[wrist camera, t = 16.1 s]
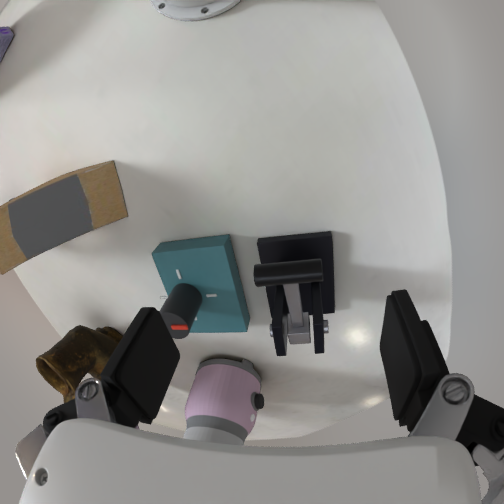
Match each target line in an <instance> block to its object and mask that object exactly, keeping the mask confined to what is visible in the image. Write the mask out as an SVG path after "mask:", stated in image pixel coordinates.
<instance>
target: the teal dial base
mask: <svg viewBox="0 0 504 504" xmlns="http://www.w3.org/2000/svg"><path fill="white" fill-rule="evenodd" d="M152 256H153V259H154V262H155V264H156V267H157V270H158V272H159V275H160V277H161V280H162V282H163V285H164V287H165V290H166V292H167V295H168V296H169V294H170V293H171V291H172V289H173V288H174V286H176V285H177V284H180V283H186V284H190V285H192V286H194V287H195V288H197V289H198V290H199V292H200V293H201V295H202V304H201V306H200V308H199V311H198V313H197V315H196V318H195V320H194V322H193V325H192V327H191V329H190V332H189V333H223V332H247V330H248V325H249V320H250V317H249V313H248V309H247V305H246V301H245V297H244V293H243V289H242V285H241V281H240V277H239V273H238V269H237V264H236V260H235V256H234V252H233V248H232V244H231V240H230V236H229V234H228V235H220V236H212V237H203V238H195V239H187V240H179V241H171V242H163V243H160V244H159V245H158V246H157V247H156V249H155V250H154V251H153V252H152ZM168 296H160V299H167V298H168Z"/></svg>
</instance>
